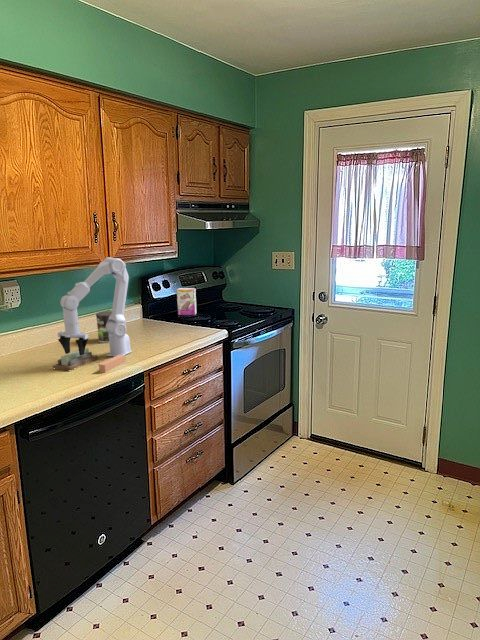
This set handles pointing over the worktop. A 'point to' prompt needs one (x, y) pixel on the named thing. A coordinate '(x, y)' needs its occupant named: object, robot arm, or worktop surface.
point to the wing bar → (111, 363)
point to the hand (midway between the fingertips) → (74, 353)
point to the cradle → (76, 362)
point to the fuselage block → (71, 356)
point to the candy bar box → (186, 301)
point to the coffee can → (103, 326)
